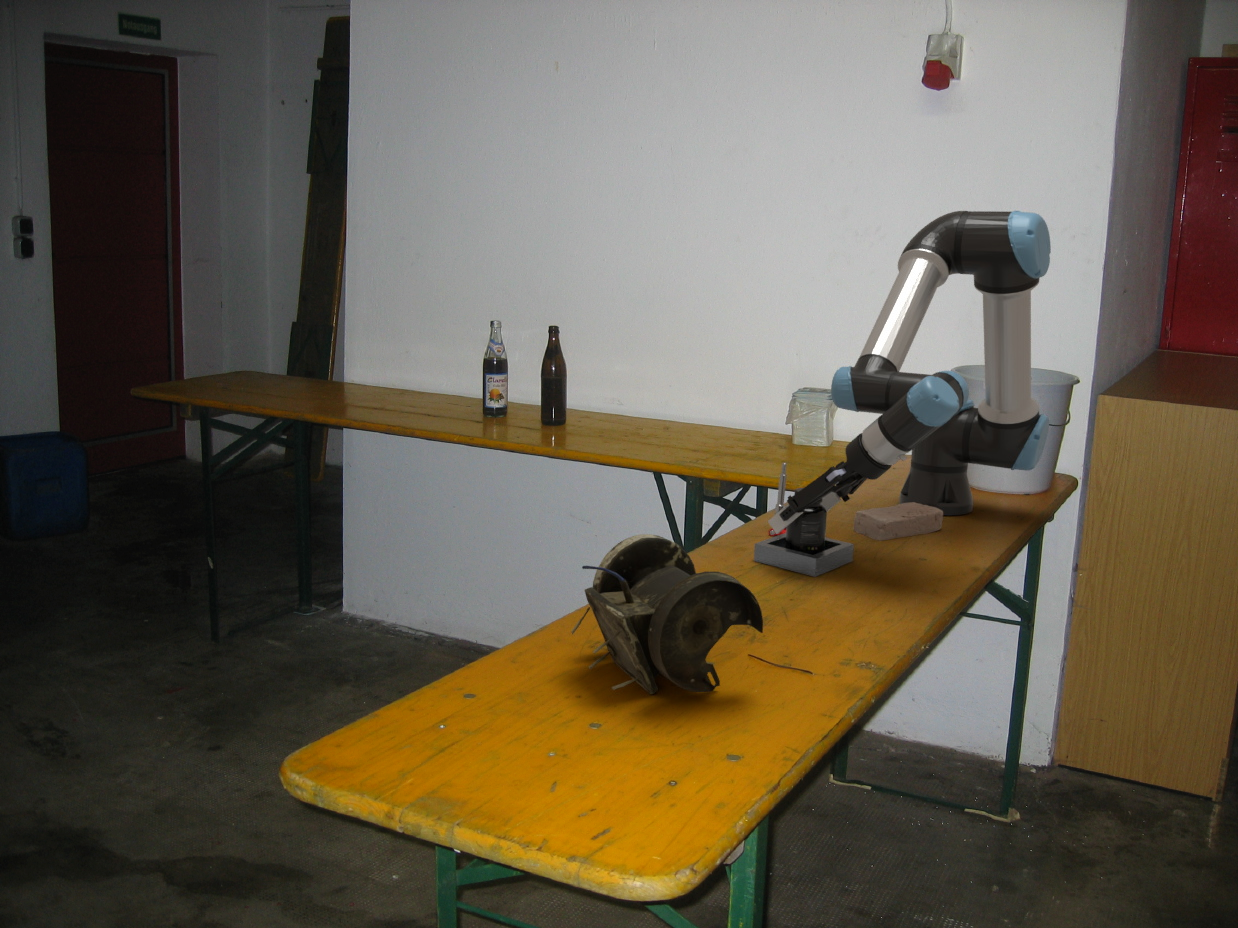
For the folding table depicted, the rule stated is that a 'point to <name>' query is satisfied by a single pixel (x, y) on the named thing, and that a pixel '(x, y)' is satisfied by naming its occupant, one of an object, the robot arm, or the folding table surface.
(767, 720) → the folding table surface
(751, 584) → the folding table surface
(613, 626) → the bench grinder
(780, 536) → the keeper tray
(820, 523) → the supplement bottle
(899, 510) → the brick
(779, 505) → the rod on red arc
